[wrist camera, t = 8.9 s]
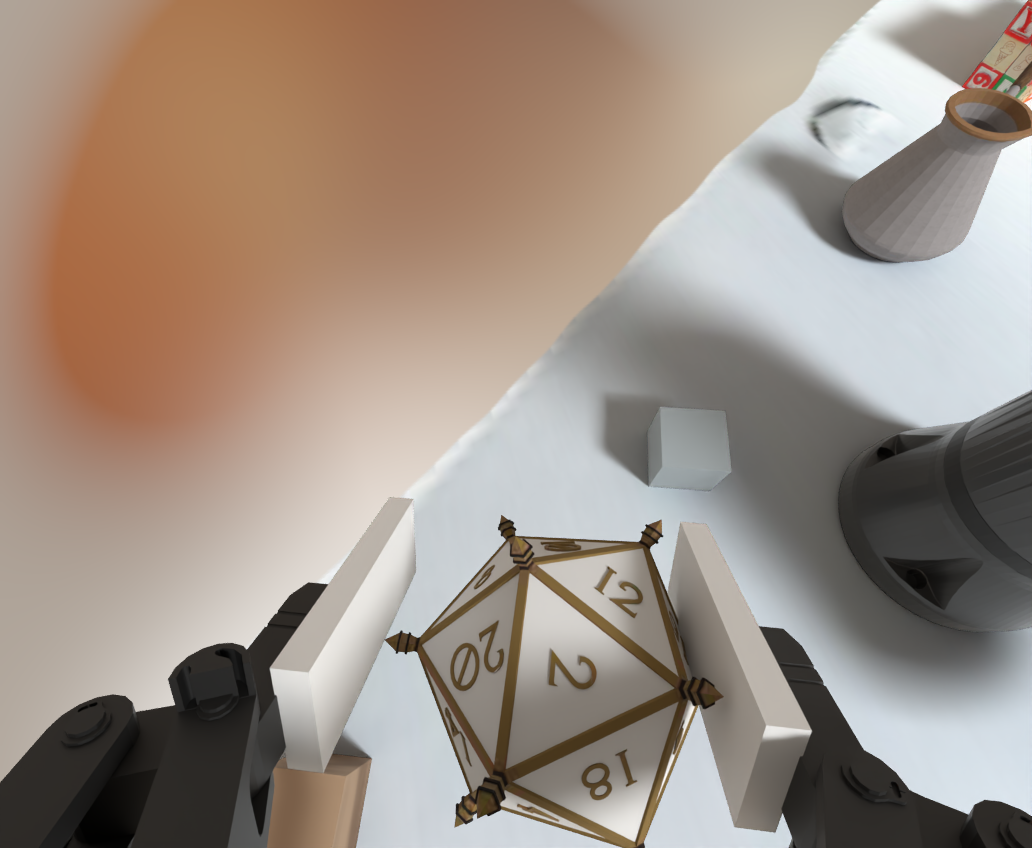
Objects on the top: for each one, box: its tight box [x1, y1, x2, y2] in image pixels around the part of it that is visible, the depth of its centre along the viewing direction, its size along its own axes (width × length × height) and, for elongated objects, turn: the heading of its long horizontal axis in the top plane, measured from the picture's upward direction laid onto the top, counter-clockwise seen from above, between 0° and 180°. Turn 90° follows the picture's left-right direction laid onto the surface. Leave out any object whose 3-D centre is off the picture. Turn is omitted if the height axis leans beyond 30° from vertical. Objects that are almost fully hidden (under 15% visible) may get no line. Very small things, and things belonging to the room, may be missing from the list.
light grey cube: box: [647, 407, 732, 491], centre depth 39 cm, size 5×5×5 cm
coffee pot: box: [842, 61, 1032, 262], centre depth 45 cm, size 21×12×15 cm, turn 134°
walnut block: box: [267, 754, 372, 848], centre depth 30 cm, size 5×5×5 cm
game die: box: [385, 515, 724, 848], centre depth 13 cm, size 9×8×10 cm
